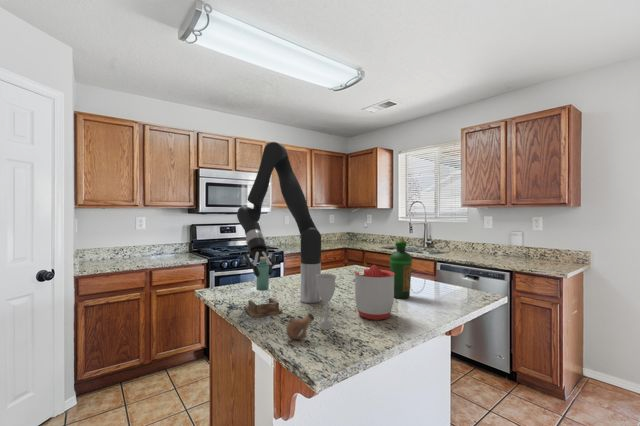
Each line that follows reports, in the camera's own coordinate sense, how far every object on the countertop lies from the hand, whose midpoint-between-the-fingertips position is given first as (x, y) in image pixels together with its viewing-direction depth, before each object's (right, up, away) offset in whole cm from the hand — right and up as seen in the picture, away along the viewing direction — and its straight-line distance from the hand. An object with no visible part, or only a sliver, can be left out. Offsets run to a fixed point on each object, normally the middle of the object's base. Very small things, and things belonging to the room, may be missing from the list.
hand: (264, 274), depth 126 cm
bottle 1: (-1, -6, +2) cm, 6 cm away
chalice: (+24, -15, -15) cm, 33 cm away
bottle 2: (+61, -16, +25) cm, 68 cm away
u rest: (-1, -15, +2) cm, 15 cm away
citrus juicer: (+43, -16, -2) cm, 46 cm away
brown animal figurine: (+16, -15, -26) cm, 35 cm away
